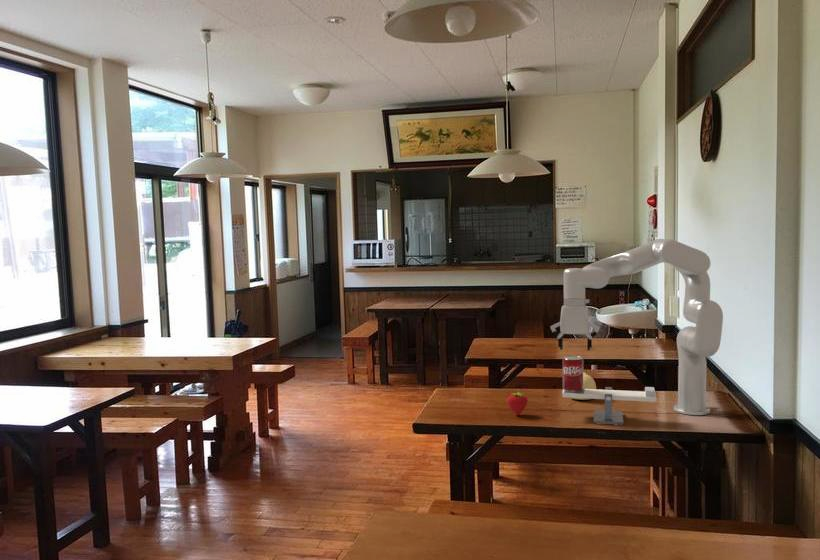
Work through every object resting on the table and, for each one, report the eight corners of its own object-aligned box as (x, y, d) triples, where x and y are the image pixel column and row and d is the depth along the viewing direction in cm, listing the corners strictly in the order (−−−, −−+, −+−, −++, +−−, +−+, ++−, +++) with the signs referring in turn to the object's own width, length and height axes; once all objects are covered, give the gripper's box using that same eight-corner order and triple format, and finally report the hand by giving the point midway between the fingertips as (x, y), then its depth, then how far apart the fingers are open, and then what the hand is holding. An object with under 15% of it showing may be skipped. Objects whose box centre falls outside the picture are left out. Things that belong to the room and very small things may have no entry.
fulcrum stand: (622, 414, 248) (622, 386, 247) (623, 425, 235) (623, 396, 234) (594, 412, 251) (594, 385, 250) (593, 423, 238) (593, 394, 237)
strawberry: (507, 412, 254) (507, 386, 253) (527, 413, 252) (527, 386, 252) (506, 417, 248) (506, 390, 247) (527, 417, 247) (527, 390, 246)
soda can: (583, 393, 241) (583, 359, 240) (562, 392, 243) (562, 359, 242) (582, 388, 248) (582, 355, 247) (562, 387, 250) (562, 355, 249)
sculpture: (577, 393, 280) (577, 367, 279) (601, 398, 271) (601, 372, 270) (559, 398, 273) (559, 372, 272) (583, 404, 264) (583, 376, 263)
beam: (655, 396, 241) (655, 386, 241) (656, 402, 234) (656, 392, 234) (563, 391, 251) (563, 382, 250) (562, 397, 243) (562, 387, 243)
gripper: (599, 301, 244) (599, 348, 245) (550, 301, 249) (551, 347, 250) (599, 304, 237) (599, 352, 238) (549, 303, 242) (549, 350, 243)
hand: (574, 349), depth 244 cm, fingers open, 9 cm apart
